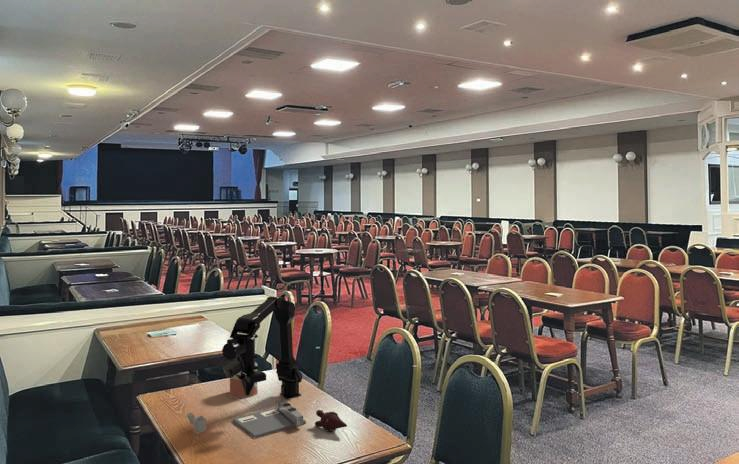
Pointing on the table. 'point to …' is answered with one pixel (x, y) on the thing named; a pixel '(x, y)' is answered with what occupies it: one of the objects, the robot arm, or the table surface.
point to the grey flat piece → (197, 423)
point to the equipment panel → (264, 422)
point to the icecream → (329, 421)
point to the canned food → (241, 388)
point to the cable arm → (290, 412)
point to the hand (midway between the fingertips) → (247, 395)
